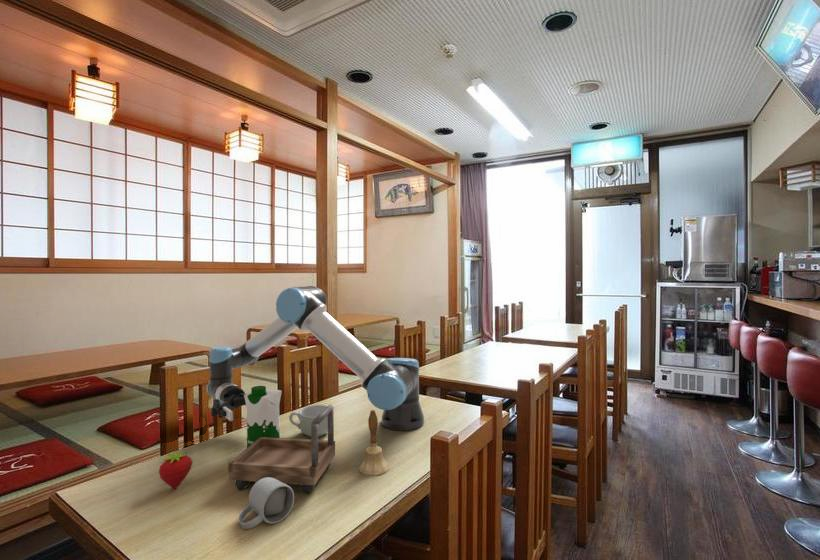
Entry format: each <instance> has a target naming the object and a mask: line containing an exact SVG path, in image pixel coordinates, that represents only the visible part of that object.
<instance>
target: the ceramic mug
mask: <svg viewBox="0 0 820 560" xmlns="http://www.w3.org/2000/svg"><path fill="white" fill-rule="evenodd" d="M294 502H295V493H294V489H293V488H292V487H291V486H290V485H288V484H286V483H282V482H280V481H278V480H277V479H274V478H270V477H266V478H262V479H260V480H259V481H257V482H256V481H255V483H254V484H253V485H252V487H251V488H250V491H249V494H248V505H246V506H245V508H243V510H241V512H240V513H239V515H238V523H239V525H240V527H241V528H242V529H244V530H248V529H252V528H254V527H256V526H257V525H259V524H260V523H261V522H262V521H264V522H266V523H267V524H272V525H275V524H277V523H280V522H282V521H283V520H285V519H286V517H288V516H289V514H290V513H291V511H292V509H293V506H294V504H295V503H294ZM252 510H253V512H255V513H256V514H257V516H256V517H254V518H252V519H251V520H249V521H246V522H245V518H246V516H247V515H248V514H249V513H250V512H251V511H252Z"/></svg>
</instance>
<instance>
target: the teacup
mask: <svg viewBox="0 0 820 560" xmlns="http://www.w3.org/2000/svg"><path fill="white" fill-rule="evenodd" d="M327 406H328V405H325V404H312V405H307V406H305V407H302V408H301V409H300V410H299V411H297V410H296V411H293V412H291V413H290V414H289V416H288V417H289V421H290V423H291V424H292V425H293V426H295V427H297V428H298V429H299V430H300V431H301V433H303V434H304V435H305V436H306V437H310V438H311V424H312V421H313V420H314V419H315V418H316V417H317V416H318V415H319V414H320V413H321V412H322V411H323V410H324V409H325V408H326V407H327ZM294 415H295V416H297V418H298V420H299V422H297V421H295V420H294V418H293V416H294ZM327 433H328V415H327V416H326V417H325V418H324V419H323V420H322V421H321V422H320V424H319V425H318V438H320V437H322V436H325V434H327Z"/></svg>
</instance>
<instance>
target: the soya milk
mask: <svg viewBox="0 0 820 560" xmlns="http://www.w3.org/2000/svg"><path fill="white" fill-rule="evenodd" d="M245 394H246V395H244V398H245V402H246V405H245V406H246V448H248V447H249V446H250V445H251V444H253V443H254V442H255V441H256V440H257V439H259V438H260V437H268V438H281V436H280V402H281V396H282V390H280V389H272V388H267V387H266V386H265V385H256V386H252V387H251V391H250V392H248V393H245Z"/></svg>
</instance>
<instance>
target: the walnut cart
mask: <svg viewBox="0 0 820 560" xmlns="http://www.w3.org/2000/svg"><path fill="white" fill-rule="evenodd" d="M326 406H327V407H326V408H325V409H324V410H323V411H322V412H321V413H320V414H319V415H318V416H317V417H316V418H315V419H314V420H313V421H312V424H311V437H310V438H311V439H304V438H285V437H284V438H282V437H280V438H268V437H260V438H259V439H257V440H256V441H255V442H254V443H253V444H251V445H250V446H249V447H248V448H247V447H246V448H245V449H244V450H242V451H241V452H240V453H239V454H238V455H236V457H234V458H233V459H232V460H231V461H229V462H228V463H227V472H228V475H227V477H228V478H227V480H228V481H234V486H235V488H236V489H238V490H240V491H242V490H244V489H246V488H247V487H248V486H249V484H250V482H255V483H256V482H257V481H259V480H260V479H262V478H266V477H270V478H274V479H277V480H278V481H280V482H282V483H284V484H286V485H288V484H290V485H300V491H301V492H302V493H303V494H304V495H310V494H311V493H312V492H313V490H314V489H315V486H316V484H317V482H318V481H319V479H320V478H321V477H322V475H323V474H324V472H325V471H326V470H328V468H330V465H331V462H332V461H333V459H334V458H335V457H336V440H334V439H335V438H334V437H335V435H334V434H335V433H334V432H335V431H334V429H335V428H334V426H335V423H334V421H335V419H334V413H335V412H334V411H335V410H334V408H335V407H334V406H333V405H332V404H328V405H326ZM327 415H328V432H327V440H325V439H324V440H323V439H322V440H321V439H319V437H318V425H319V424H320V422H321V421H322V420H323V419H324V418H325V417H326V416H327Z"/></svg>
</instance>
